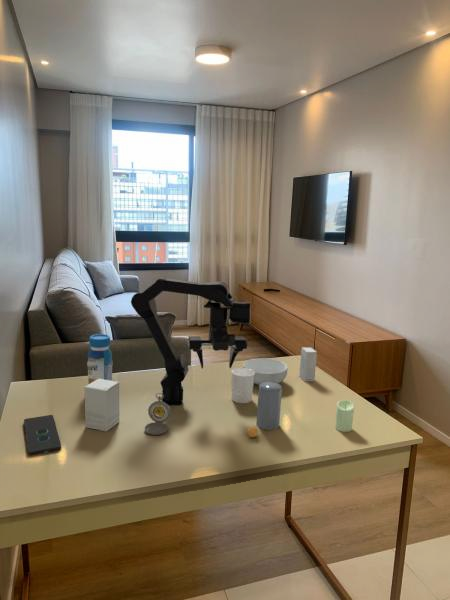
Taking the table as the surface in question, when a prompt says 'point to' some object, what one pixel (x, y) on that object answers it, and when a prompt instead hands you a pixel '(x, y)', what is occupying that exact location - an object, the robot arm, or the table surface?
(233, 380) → the white cup
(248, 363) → the cereal bowl
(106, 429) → the supplement box
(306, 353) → the skincare box
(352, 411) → the candle
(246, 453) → the table surface
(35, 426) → the smart home device
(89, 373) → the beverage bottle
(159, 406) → the pocket watch
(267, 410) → the grey faceted canister
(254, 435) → the amber ball
